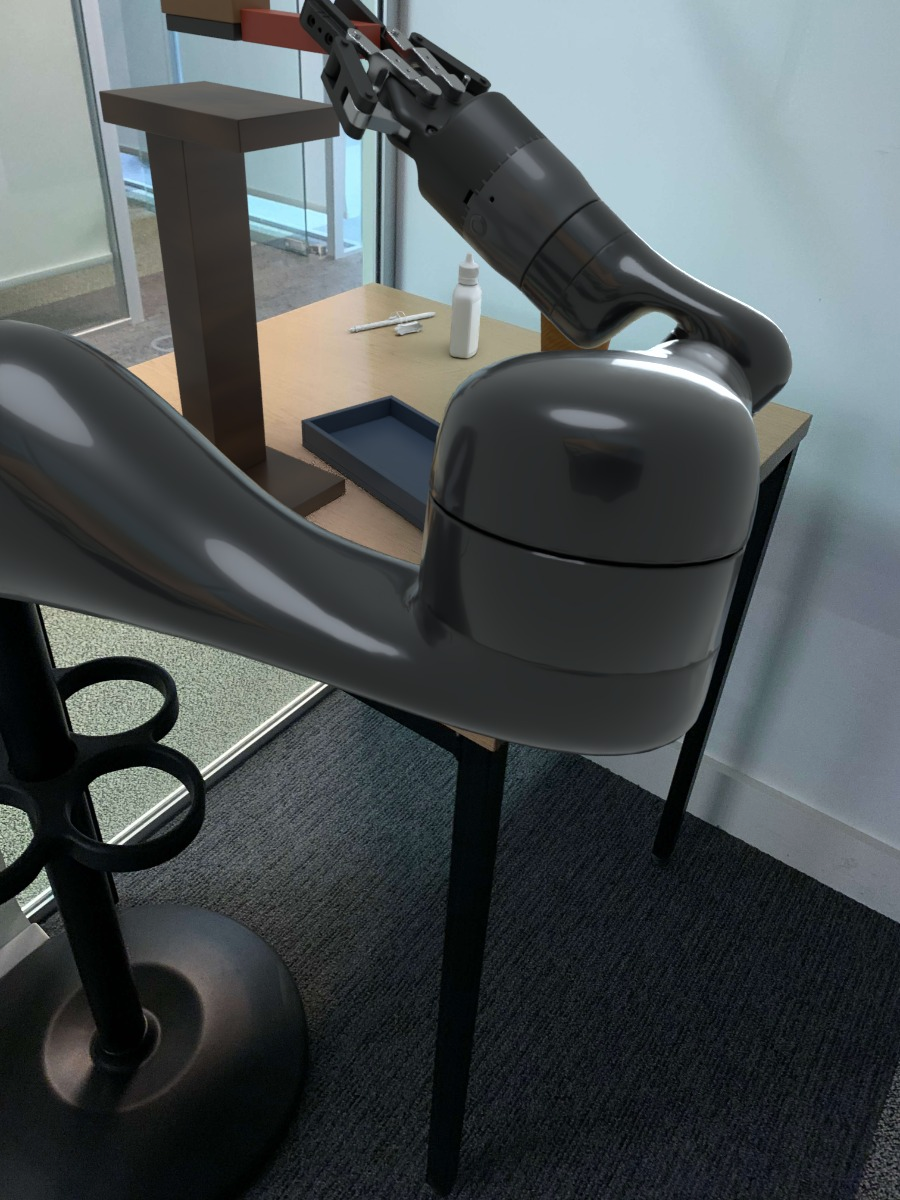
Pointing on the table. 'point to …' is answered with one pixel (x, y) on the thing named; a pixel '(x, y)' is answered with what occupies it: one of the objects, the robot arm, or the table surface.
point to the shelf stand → (220, 259)
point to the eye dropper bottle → (466, 310)
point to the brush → (248, 23)
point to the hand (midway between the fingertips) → (322, 5)
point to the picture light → (401, 327)
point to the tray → (379, 451)
